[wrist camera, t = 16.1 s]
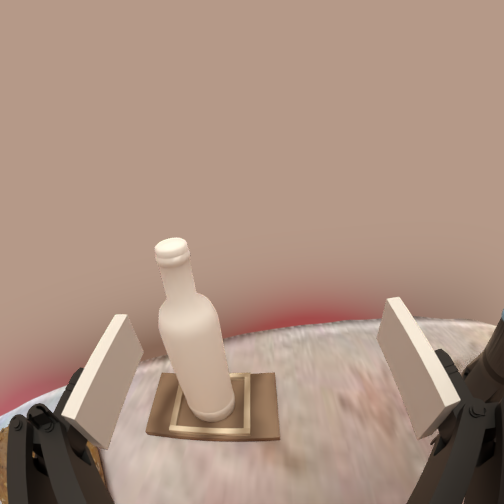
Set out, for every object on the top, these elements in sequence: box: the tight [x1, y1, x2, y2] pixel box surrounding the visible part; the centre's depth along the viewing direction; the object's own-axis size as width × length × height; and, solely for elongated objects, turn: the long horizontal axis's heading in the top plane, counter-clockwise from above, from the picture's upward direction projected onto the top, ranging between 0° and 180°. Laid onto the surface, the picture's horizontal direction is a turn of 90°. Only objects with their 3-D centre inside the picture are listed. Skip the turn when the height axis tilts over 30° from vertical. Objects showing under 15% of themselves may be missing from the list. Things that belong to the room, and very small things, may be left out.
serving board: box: [146, 373, 280, 441], centre depth 41 cm, size 22×14×2 cm, turn 90°
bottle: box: [155, 238, 235, 422], centre depth 35 cm, size 8×8×30 cm
